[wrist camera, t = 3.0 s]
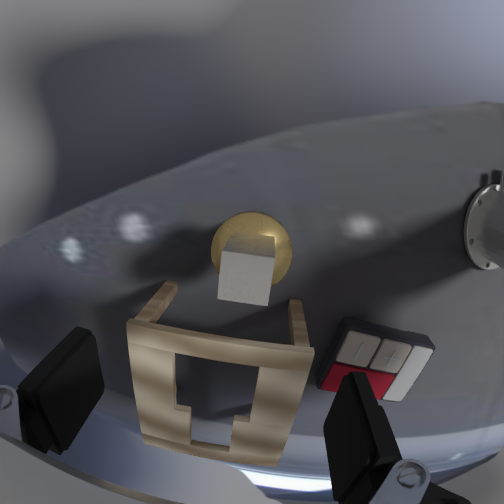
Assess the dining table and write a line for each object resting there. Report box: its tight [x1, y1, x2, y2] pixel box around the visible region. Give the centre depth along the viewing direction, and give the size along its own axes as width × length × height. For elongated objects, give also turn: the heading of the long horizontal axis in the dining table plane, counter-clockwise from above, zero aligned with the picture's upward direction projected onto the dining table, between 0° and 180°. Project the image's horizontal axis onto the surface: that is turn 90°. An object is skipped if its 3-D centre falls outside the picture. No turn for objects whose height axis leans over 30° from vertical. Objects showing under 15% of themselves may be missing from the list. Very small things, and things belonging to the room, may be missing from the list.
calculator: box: [316, 317, 435, 402], centre depth 38 cm, size 11×4×15 cm
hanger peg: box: [211, 211, 292, 306], centre depth 28 cm, size 7×7×16 cm
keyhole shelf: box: [126, 280, 315, 467], centre depth 35 cm, size 20×18×12 cm
